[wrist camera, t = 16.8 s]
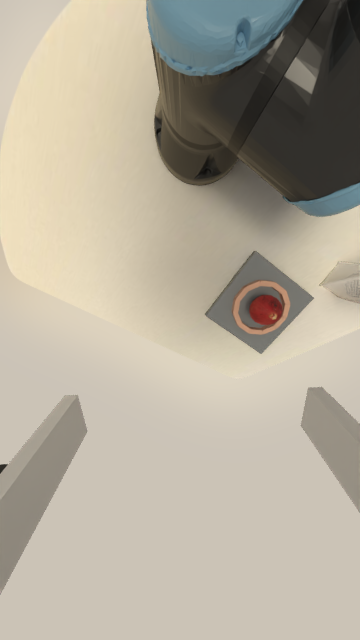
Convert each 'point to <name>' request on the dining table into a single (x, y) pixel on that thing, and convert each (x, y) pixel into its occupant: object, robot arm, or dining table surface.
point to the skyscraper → (344, 281)
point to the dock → (246, 288)
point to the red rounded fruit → (266, 310)
